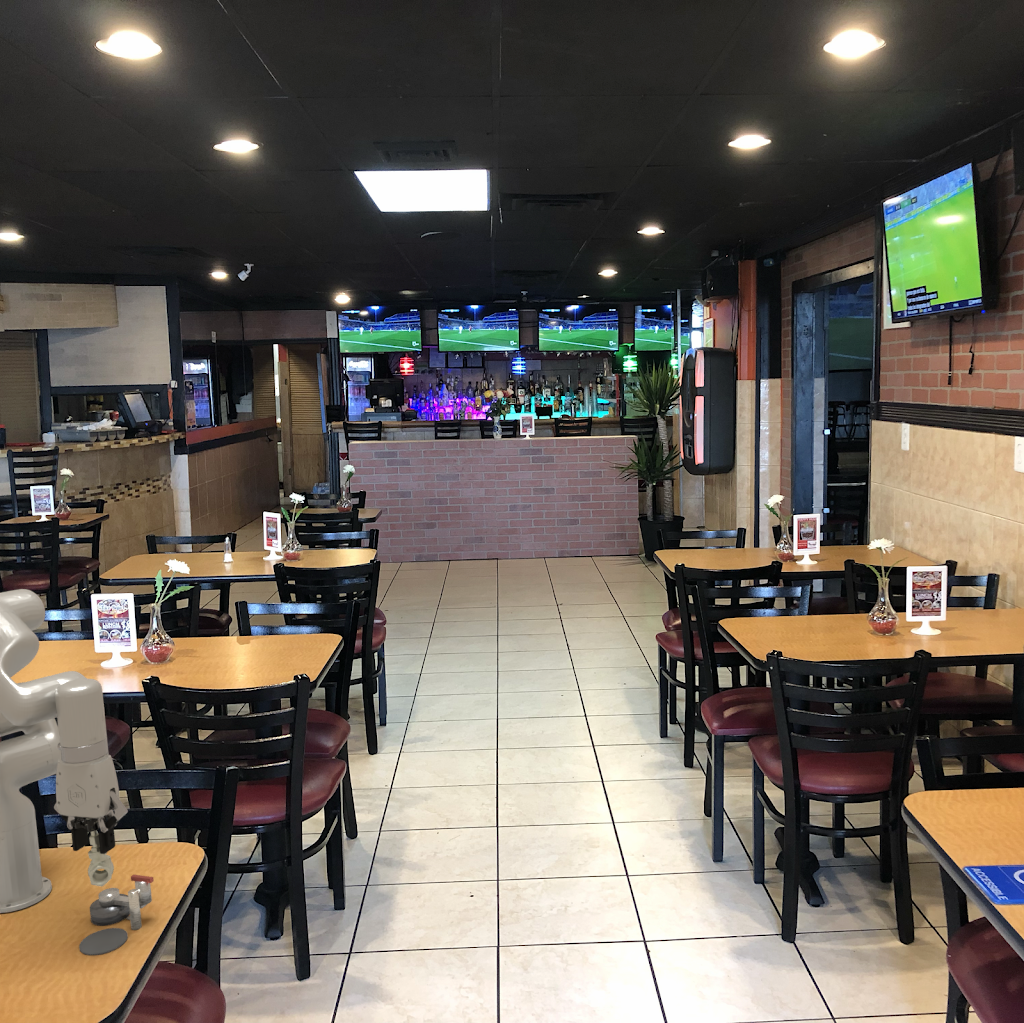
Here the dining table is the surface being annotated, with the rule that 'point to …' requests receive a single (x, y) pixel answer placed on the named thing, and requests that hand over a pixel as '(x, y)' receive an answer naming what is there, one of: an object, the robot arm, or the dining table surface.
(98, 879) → the valve
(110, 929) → the mat
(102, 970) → the dining table surface
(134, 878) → the crank
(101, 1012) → the dining table surface
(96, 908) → the crank housing
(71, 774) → the robot arm
